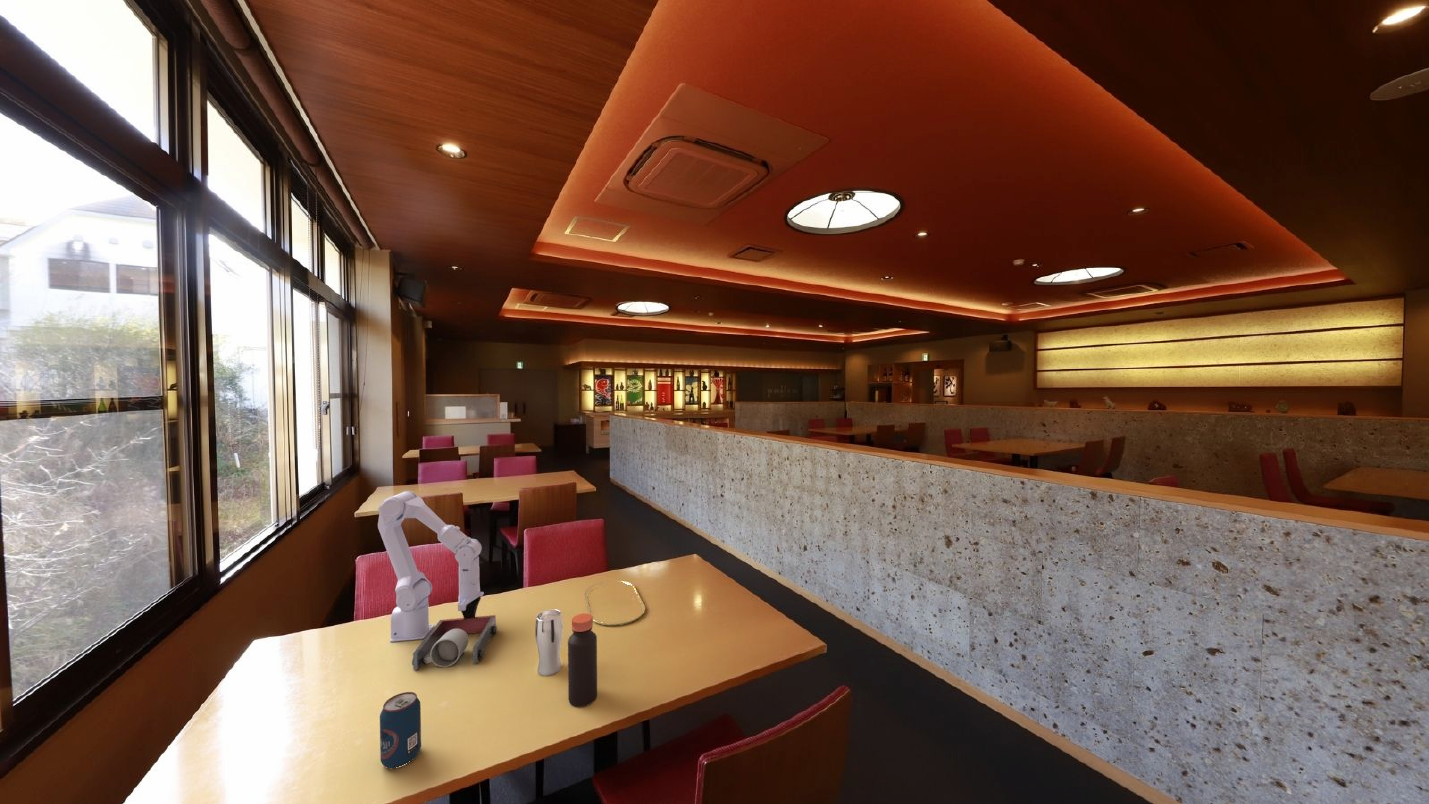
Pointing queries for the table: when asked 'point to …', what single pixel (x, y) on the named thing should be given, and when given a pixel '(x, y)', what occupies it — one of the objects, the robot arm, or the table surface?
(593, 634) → the bottle
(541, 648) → the beer glass
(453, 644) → the ceramic mug
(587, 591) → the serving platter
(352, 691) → the table surface
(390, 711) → the soda can
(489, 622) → the grey u-frame
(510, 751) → the table surface
